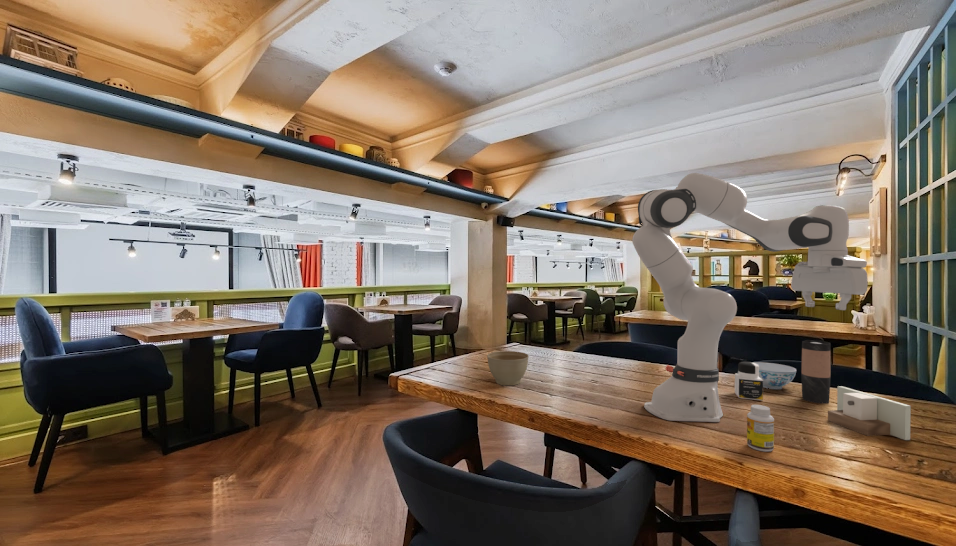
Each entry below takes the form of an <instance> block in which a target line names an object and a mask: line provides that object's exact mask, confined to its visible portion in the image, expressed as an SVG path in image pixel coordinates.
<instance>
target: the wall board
mask: <svg viewBox="0 0 956 546" xmlns="http://www.w3.org/2000/svg"><path fill="white" fill-rule="evenodd" d="M836 388H837V389H836V390H837V391H836V392H837V393H836V394H837V395H836V396H837V400H836V405H837V406H836V410H843V393H861V394H865V395H868V396H872V397H875V398H877V419H878V420H881V421H884V422H887V423H890V435H889V436H892V437H896V438H898V439H900V440H904V441H911V417H912V416H911V414H912V413H911V408H912V406H911V405H909V404H906V403H902V402H899V401H895V400H891V399H888V398H884V397H881V396H879V395H878V396H877V395H874V394H871V393H867V392H863V391H860V390H856V389H853V388H850V387H846V386H842V385H841V386H839V385H838V386H837V387H836Z"/></svg>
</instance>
